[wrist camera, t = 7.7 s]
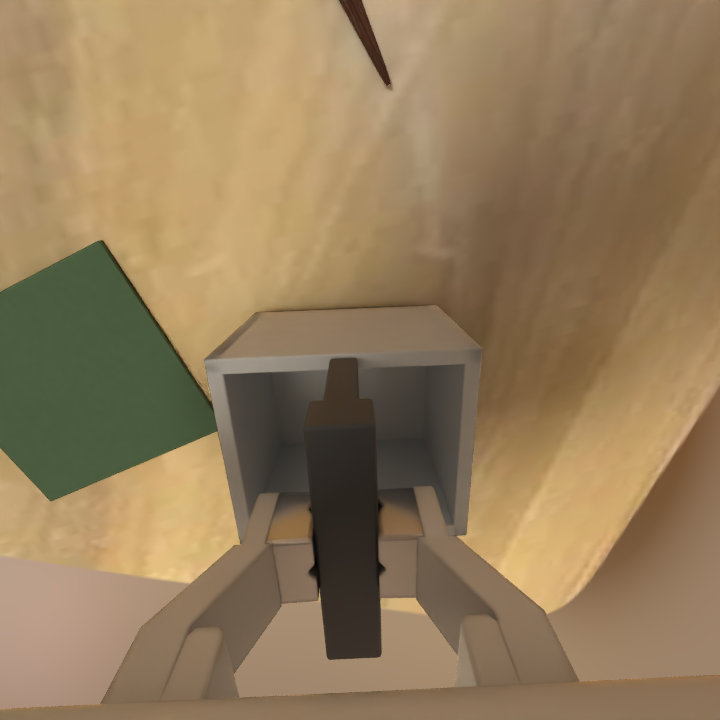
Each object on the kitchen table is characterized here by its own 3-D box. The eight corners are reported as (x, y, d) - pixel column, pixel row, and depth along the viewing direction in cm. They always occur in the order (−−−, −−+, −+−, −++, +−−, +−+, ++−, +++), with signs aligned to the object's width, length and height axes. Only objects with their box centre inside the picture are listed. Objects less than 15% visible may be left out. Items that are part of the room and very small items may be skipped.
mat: (101, 240, 16) (98, 240, 15) (225, 426, 19) (224, 428, 19) (-94, 342, 17) (-99, 343, 17) (53, 499, 20) (50, 501, 20)
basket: (437, 304, 16) (551, 412, 7) (431, 441, 18) (510, 655, 9) (255, 312, 16) (123, 430, 7) (274, 447, 18) (196, 670, 9)
